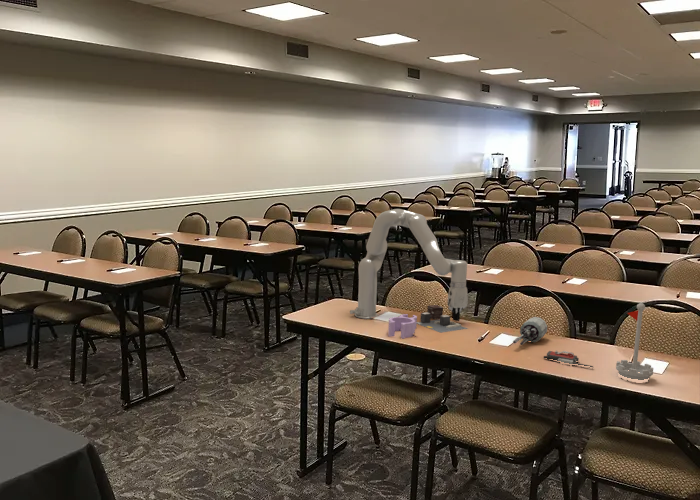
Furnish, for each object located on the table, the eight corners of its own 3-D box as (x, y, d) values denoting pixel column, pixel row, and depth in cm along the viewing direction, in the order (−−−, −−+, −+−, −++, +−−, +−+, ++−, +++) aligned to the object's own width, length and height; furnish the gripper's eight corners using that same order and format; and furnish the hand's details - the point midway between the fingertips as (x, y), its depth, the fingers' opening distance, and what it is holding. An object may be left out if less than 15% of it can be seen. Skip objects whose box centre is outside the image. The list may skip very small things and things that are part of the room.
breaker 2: (443, 325, 294) (444, 316, 293) (439, 324, 296) (440, 315, 296) (449, 325, 296) (450, 316, 295) (445, 323, 299) (446, 314, 298)
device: (526, 334, 289) (527, 314, 287) (547, 338, 284) (548, 318, 282) (508, 350, 263) (509, 328, 261) (530, 354, 257) (532, 332, 256)
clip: (398, 326, 295) (398, 312, 294) (422, 330, 290) (422, 316, 289) (383, 335, 277) (384, 321, 276) (408, 340, 272) (409, 325, 271)
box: (426, 318, 312) (427, 305, 311) (436, 318, 315) (436, 304, 314) (432, 321, 307) (433, 307, 306) (442, 320, 310) (443, 307, 309)
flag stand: (658, 380, 230) (667, 305, 226) (640, 386, 222) (649, 308, 218) (626, 370, 240) (634, 298, 236) (608, 376, 233) (616, 301, 229)
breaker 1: (424, 323, 298) (424, 314, 297) (420, 321, 300) (420, 312, 300) (430, 322, 300) (430, 313, 300) (426, 320, 303) (426, 312, 302)
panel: (440, 335, 282) (440, 331, 282) (414, 325, 298) (414, 321, 298) (468, 330, 292) (468, 326, 291) (441, 321, 308) (441, 317, 308)
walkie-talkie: (541, 361, 249) (592, 371, 239) (542, 351, 248) (593, 360, 238) (546, 356, 256) (595, 365, 246) (547, 346, 256) (596, 355, 246)
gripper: (452, 287, 290) (450, 323, 293) (474, 285, 299) (472, 320, 301) (442, 284, 297) (440, 320, 299) (464, 282, 305) (461, 317, 307)
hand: (456, 320), depth 300 cm, fingers closed
